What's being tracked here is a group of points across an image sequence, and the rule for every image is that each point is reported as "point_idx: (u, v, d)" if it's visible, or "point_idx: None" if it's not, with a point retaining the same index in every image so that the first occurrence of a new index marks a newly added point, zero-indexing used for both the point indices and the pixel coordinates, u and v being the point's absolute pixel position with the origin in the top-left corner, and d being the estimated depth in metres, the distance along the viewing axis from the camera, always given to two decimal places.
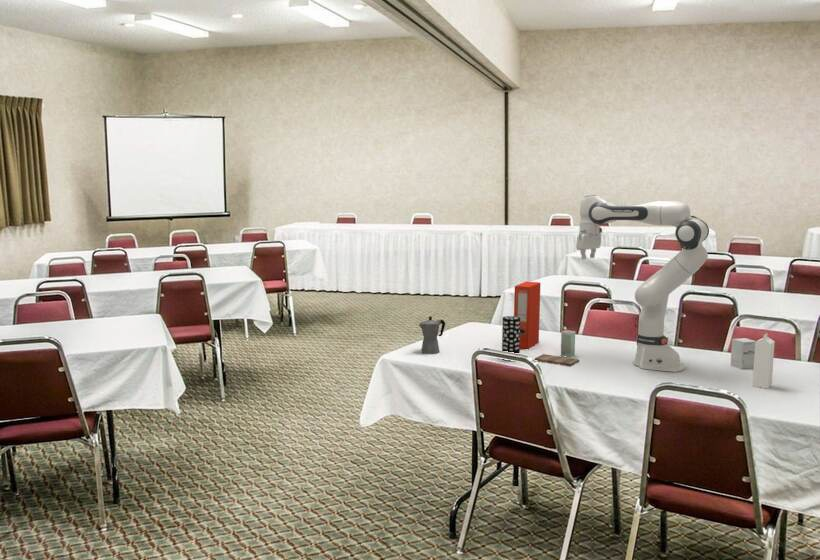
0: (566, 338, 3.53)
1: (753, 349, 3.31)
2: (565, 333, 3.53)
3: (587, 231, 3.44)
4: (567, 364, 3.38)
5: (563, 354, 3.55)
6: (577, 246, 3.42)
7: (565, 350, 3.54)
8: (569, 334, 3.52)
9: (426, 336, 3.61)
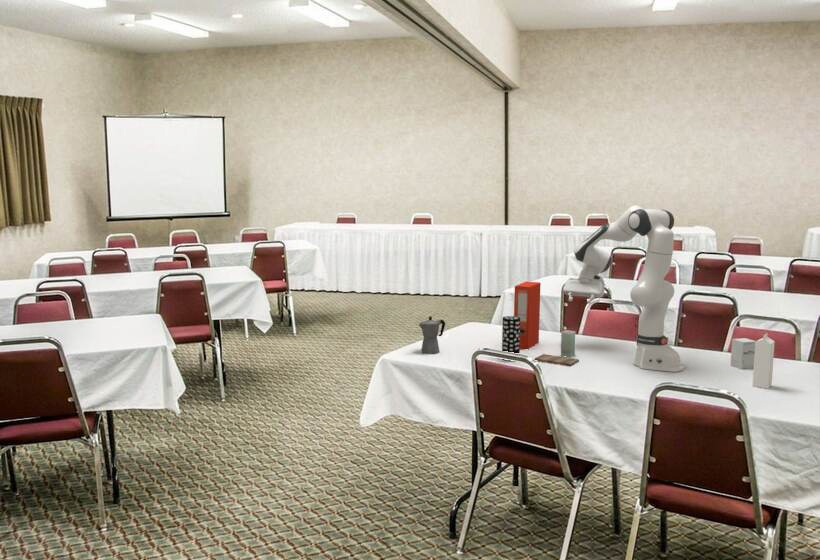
0: (566, 338, 3.53)
1: (753, 349, 3.31)
2: (565, 333, 3.53)
3: (578, 278, 3.71)
4: (567, 364, 3.38)
5: (563, 354, 3.55)
6: None
7: (565, 350, 3.54)
8: (569, 334, 3.52)
9: (426, 336, 3.61)
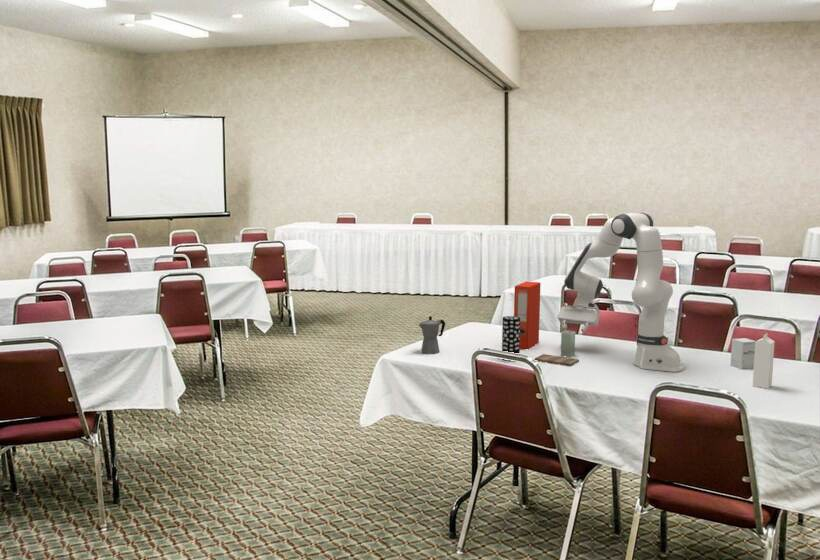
0: (566, 338, 3.53)
1: (753, 349, 3.31)
2: (565, 333, 3.53)
3: (573, 306, 3.68)
4: (567, 364, 3.38)
5: (563, 354, 3.55)
6: None
7: (565, 350, 3.54)
8: (569, 334, 3.52)
9: (426, 336, 3.61)
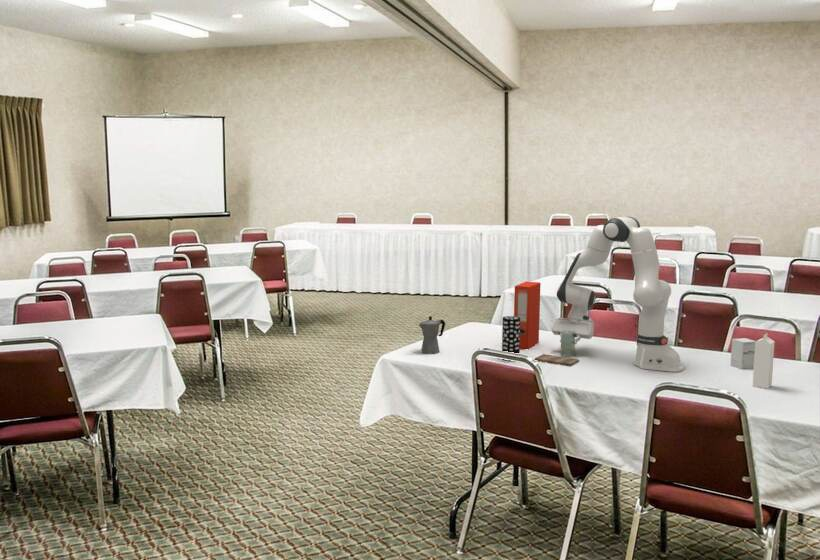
0: (566, 338, 3.53)
1: (753, 349, 3.31)
2: (565, 333, 3.53)
3: (567, 318, 3.63)
4: (567, 364, 3.38)
5: (563, 354, 3.55)
6: None
7: (565, 350, 3.54)
8: (569, 334, 3.52)
9: (426, 336, 3.61)
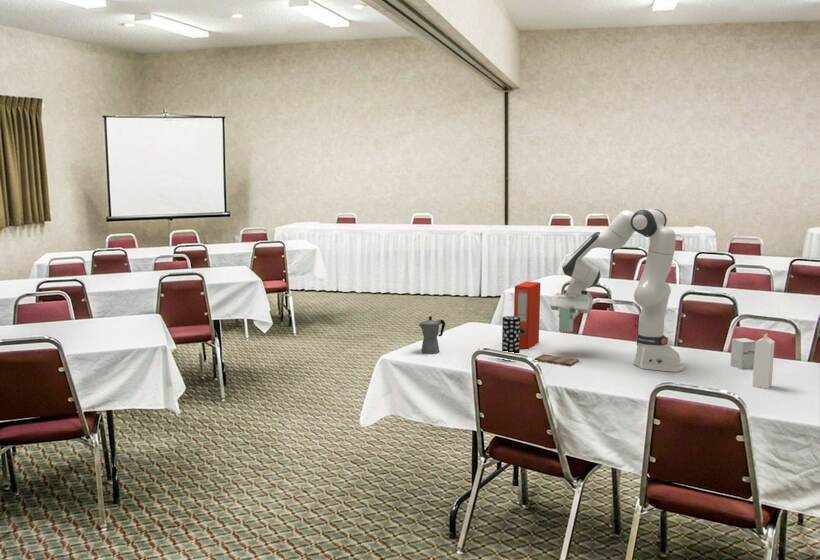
0: (564, 312, 3.49)
1: (753, 349, 3.31)
2: (563, 308, 3.49)
3: None
4: (567, 364, 3.38)
5: (561, 329, 3.51)
6: None
7: (563, 324, 3.50)
8: (567, 308, 3.48)
9: (426, 336, 3.61)
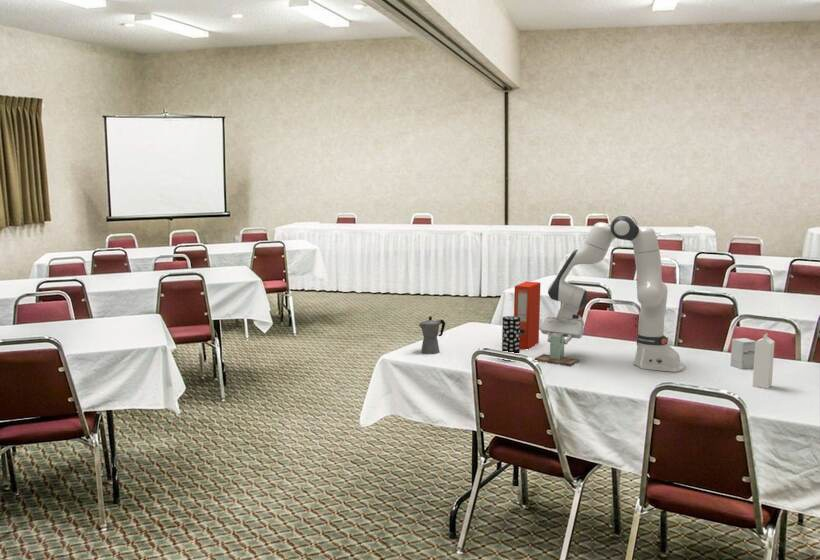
0: (555, 340, 3.42)
1: (753, 349, 3.31)
2: (554, 335, 3.42)
3: None
4: (567, 364, 3.38)
5: (552, 357, 3.44)
6: None
7: (554, 353, 3.44)
8: (558, 336, 3.41)
9: (426, 336, 3.61)
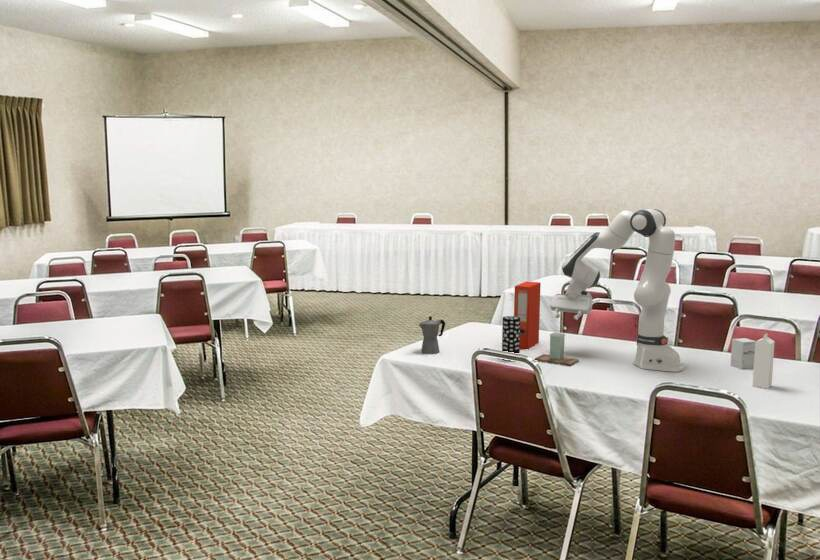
0: (555, 340, 3.42)
1: (753, 349, 3.31)
2: (554, 335, 3.42)
3: (565, 294, 3.59)
4: (567, 364, 3.38)
5: (552, 357, 3.44)
6: None
7: (554, 353, 3.44)
8: (558, 336, 3.41)
9: (426, 336, 3.61)
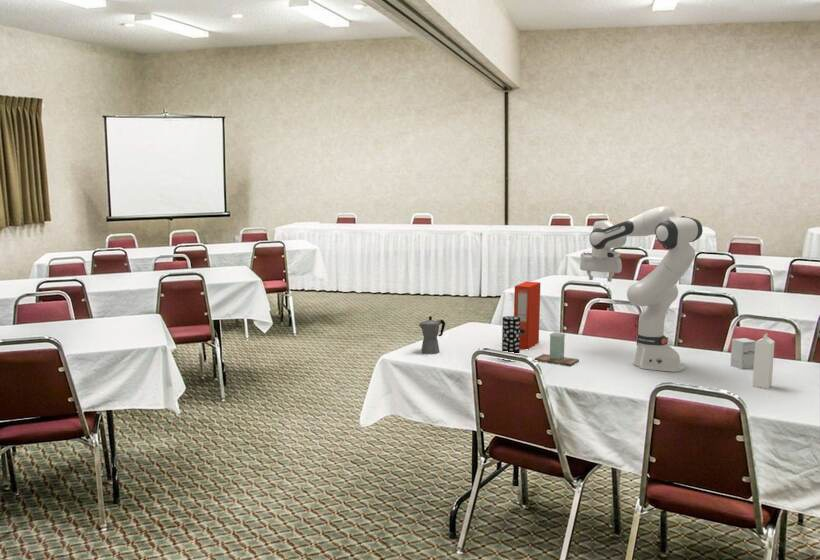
0: (555, 340, 3.42)
1: (753, 349, 3.31)
2: (554, 335, 3.42)
3: (591, 253, 3.62)
4: (567, 364, 3.38)
5: (552, 357, 3.44)
6: None
7: (554, 353, 3.44)
8: (558, 336, 3.41)
9: (426, 336, 3.61)
